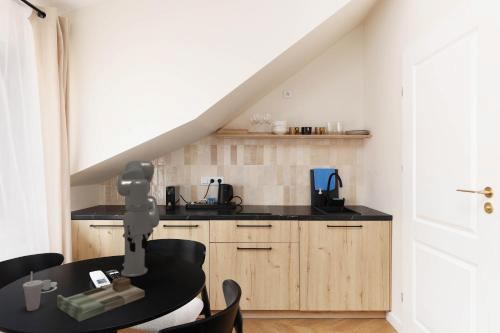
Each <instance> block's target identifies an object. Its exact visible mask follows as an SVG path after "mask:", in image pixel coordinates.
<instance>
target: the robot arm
mask: <svg viewBox="0 0 500 333" xmlns="http://www.w3.org/2000/svg"><path fill="white" fill-rule="evenodd" d="M154 175H155V165H154V163H153V162H152V161H149V160H131V161H128V162H127V163H126V165H125V169H123V170H121V171H120V173H119V176H118V177H117V181H116V182H117V183H116V185H117V186H116V190H117V193H118V195H119V196H121V197H124V207H125V210H126V212H124V213H123V215H122V222H123V223H122V224H123V231H124V232H123V234H122V237H123V239H124V262H123V263H122V265H121V266H122V267H123V269H122V270H121V271H120V272H121V273H120V275H121V277H126V278H129V277H130V278H131V277H139V276H143V275H145V274H146V273H148V268H147V267H146V266H145V254H146V252H145V250H147V249H148V240H149V239H150V236H151V235H152V234H153V232H154V228H157V227H158V226H159V224H160V216H159V215H160V214H159V209H158V202H157V199H156V197H154V195H149V193H151V183H152V180H153V178H154Z"/></svg>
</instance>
